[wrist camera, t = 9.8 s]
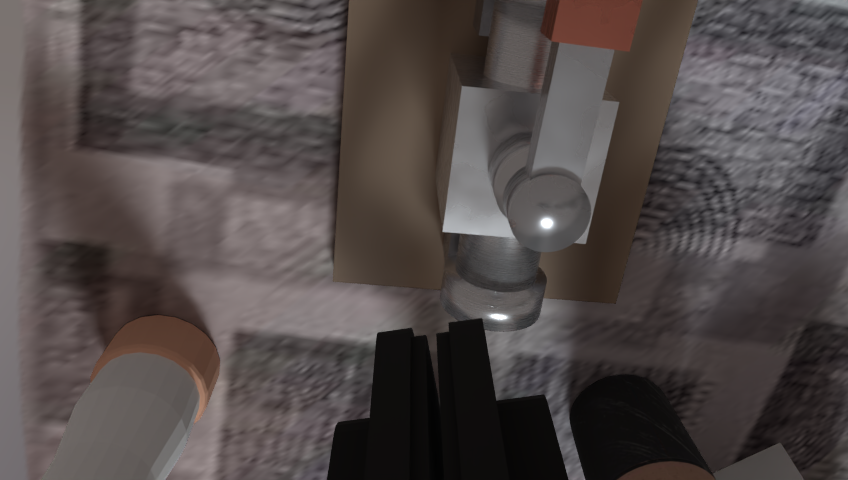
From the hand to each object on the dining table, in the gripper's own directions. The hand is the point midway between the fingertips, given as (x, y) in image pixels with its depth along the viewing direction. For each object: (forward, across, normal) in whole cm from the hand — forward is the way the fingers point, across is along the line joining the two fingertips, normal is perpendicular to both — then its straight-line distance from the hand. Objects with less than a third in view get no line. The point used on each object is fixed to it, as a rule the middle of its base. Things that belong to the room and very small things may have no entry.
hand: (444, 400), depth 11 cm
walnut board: (+30, -4, +4) cm, 30 cm away
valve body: (+28, -4, +4) cm, 29 cm away
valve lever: (+18, -6, -1) cm, 19 cm away
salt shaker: (+29, +20, +17) cm, 40 cm away
